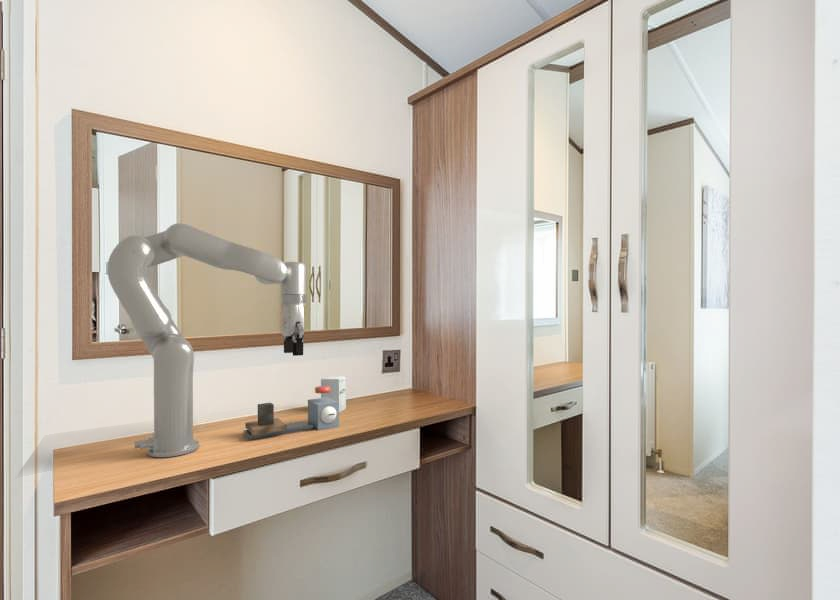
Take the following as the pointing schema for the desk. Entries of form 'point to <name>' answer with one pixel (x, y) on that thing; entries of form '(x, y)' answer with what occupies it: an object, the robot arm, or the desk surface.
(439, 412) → the desk surface
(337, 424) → the gauge cabinet
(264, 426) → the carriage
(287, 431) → the track
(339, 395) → the supplement box
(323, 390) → the button
